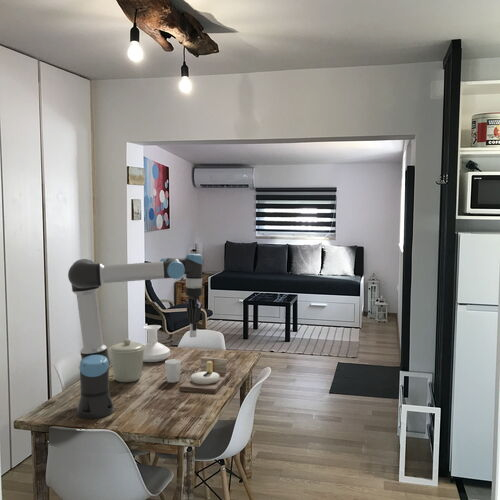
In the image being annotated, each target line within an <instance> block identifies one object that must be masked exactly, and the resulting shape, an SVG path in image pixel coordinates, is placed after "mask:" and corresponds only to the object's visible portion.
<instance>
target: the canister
mask: <svg viewBox="0 0 500 500" xmlns="http://www.w3.org/2000/svg"><path fill="white" fill-rule="evenodd" d="M144 345H145V344H142V343H141V342H134V341H131V339H130V338H125V339H123V342H120V343H116V344H113V345H112V346H110V347H109V348H108V352H110V353H109V354H110V358H111V360H110V361H111V366H112V371H113V377H114V380H115V381H117V382H118V383H119V382H120V383H133V382H136V381H137V380H139V379H140V378H141V377H142V374H143V365H144V364H143V363H144V362H143V356H144V349H145V346H144Z"/></svg>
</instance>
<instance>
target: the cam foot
mask: <svg viewBox="0 0 500 500" xmlns="http://www.w3.org/2000/svg"><path fill="white" fill-rule="evenodd" d="M190 377H191V381H192V382H193V383H196V384H212V383H216V382H218V381H219V374H218V373H215V372H213V363H212V362H211V361H208V362H207V372H197V373H195V372H194V373H192V374H191V376H190Z"/></svg>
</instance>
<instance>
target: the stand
mask: <svg viewBox="0 0 500 500" xmlns="http://www.w3.org/2000/svg"><path fill="white" fill-rule="evenodd" d="M208 361H211V362H212V363H213V372H215V373H218V374H219V381H218V382H216V383H212V384H196V383H193V382H192V381H191V376H190V377H188V378H187V379H185V381H184V382H182V383H181V384H180V385H179V389H178V390H179V391H183V392H192V393H193V392H194V393H203V394H204V393H206V394H207V393H208V394H216V393H217V392H218V391H219V390H220V389H221V387H223V385H225V383H226V382H227V381H228V380H229V379H230V378H231V376H232V372H231V371H228V359H227V358H217V357H202V356H201V357H200V369H197V370H196V371H195V372H194V373H197V372H207V362H208Z"/></svg>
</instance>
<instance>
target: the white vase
mask: <svg viewBox="0 0 500 500" xmlns="http://www.w3.org/2000/svg"><path fill="white" fill-rule="evenodd" d="M142 328H143V329H145V331H147V343H144V344H143V345H144V346H145V349H144V356H143V363H157V362H161V361H165V360H166V359H167V358H168V357H169V356H170V355H171V349H170V348H169V347H167V346H166V345H164V344H163V343H160V342H158V330H160V328H162V326H161V325H160V324H159V325H158V324H149V325H144V326H143V327H142Z"/></svg>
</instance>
